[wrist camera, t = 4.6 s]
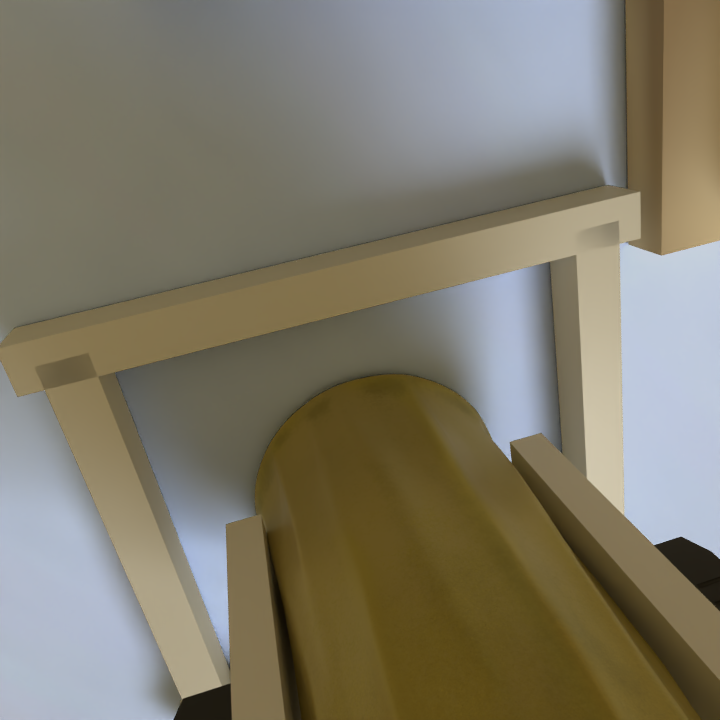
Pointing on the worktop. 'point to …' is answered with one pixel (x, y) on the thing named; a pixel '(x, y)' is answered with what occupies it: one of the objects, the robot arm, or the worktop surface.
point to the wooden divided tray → (674, 121)
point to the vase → (437, 573)
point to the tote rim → (304, 305)
